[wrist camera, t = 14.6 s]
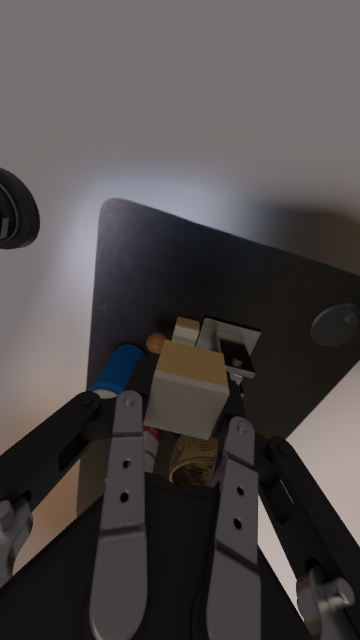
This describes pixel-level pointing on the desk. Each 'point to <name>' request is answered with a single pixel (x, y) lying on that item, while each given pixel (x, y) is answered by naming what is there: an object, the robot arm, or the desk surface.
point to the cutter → (229, 344)
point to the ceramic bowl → (192, 460)
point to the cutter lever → (156, 345)
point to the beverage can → (117, 371)
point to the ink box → (150, 446)
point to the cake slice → (187, 390)
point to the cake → (186, 331)
